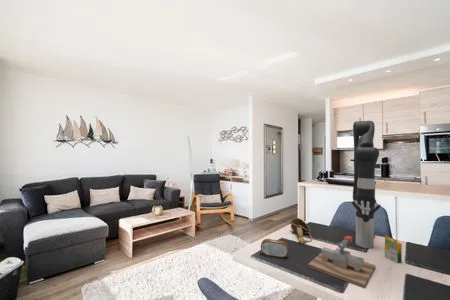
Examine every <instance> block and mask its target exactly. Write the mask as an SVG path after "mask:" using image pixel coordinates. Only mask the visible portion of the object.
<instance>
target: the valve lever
mask: <svg viewBox="0 0 450 300" xmlns="http://www.w3.org/2000/svg"><path fill="white" fill-rule="evenodd" d="M352 242H353V236H351V235H346V236H344V237H343V239H342V241H340V242H338V243H337V247H338V249H340V252H344V250H345V249H346V246H348V244H351V243H352Z"/></svg>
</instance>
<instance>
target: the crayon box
mask: <svg viewBox="0 0 450 300" xmlns="http://www.w3.org/2000/svg"><path fill="white" fill-rule="evenodd" d="M402 253H403V245H402V243H401V242H398V240H397V239H395V238H393V237H391V236H388V235H384V258H386V259H389V260H390V261H392V262H394V263H396V264H401V263H403V261H402V257H403V254H402Z"/></svg>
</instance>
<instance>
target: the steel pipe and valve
mask: <svg viewBox="0 0 450 300" xmlns="http://www.w3.org/2000/svg"><path fill="white" fill-rule="evenodd" d="M320 251H321V252H320V253H321V256H322V257H324V260H325V261H329V260H330V259H331V260H333V265H335V266H338V267H341V268H344V269H347V268H348V267H349V265H350V266H353V267H355V271H358V272H360V271H361V269H362V268H363V267H364V262H365V258H363V257H359V256H356V255H353V254H351V252H350V251H348V250H345V249H344V252H340V248H339V247H338V248H336V249H332V248H329V247H326V246H325V247H324V246H323V247H322V248H321V250H320Z"/></svg>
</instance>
